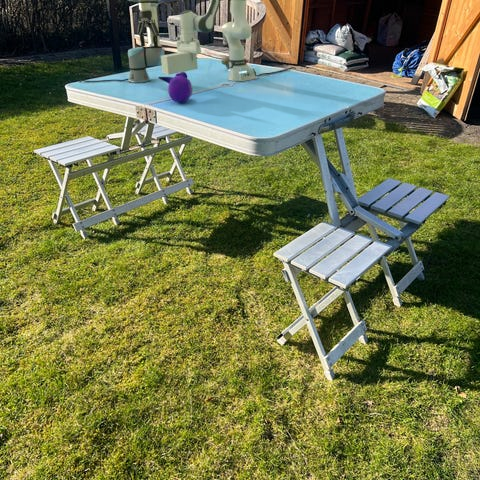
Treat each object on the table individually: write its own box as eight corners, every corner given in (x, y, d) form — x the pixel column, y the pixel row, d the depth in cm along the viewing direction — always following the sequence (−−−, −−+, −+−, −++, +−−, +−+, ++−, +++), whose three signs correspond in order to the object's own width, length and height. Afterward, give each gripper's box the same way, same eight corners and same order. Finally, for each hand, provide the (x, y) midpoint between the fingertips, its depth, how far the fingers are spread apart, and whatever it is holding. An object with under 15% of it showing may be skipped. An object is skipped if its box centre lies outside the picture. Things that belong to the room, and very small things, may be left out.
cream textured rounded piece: (225, 72, 364) (224, 52, 356) (218, 70, 372) (217, 50, 365) (247, 69, 373) (247, 50, 365) (240, 67, 381) (240, 48, 374)
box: (168, 74, 292) (166, 56, 287) (162, 73, 296) (160, 55, 290) (197, 68, 309) (196, 51, 303) (191, 67, 312) (190, 50, 307)
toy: (182, 94, 297) (192, 108, 276) (156, 89, 290) (164, 103, 269) (187, 69, 289) (197, 82, 268) (160, 64, 282) (169, 77, 261)
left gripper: (162, 10, 274) (166, 48, 285) (138, 9, 289) (142, 45, 300) (153, 11, 270) (157, 49, 280) (128, 10, 284) (133, 46, 295)
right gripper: (202, 38, 294) (203, 60, 301) (181, 36, 306) (183, 58, 313) (195, 39, 290) (196, 62, 297) (174, 37, 302) (176, 59, 309)
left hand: (149, 47), depth 290 cm, fingers open, 13 cm apart
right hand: (189, 60), depth 305 cm, fingers closed on box, 6 cm apart
